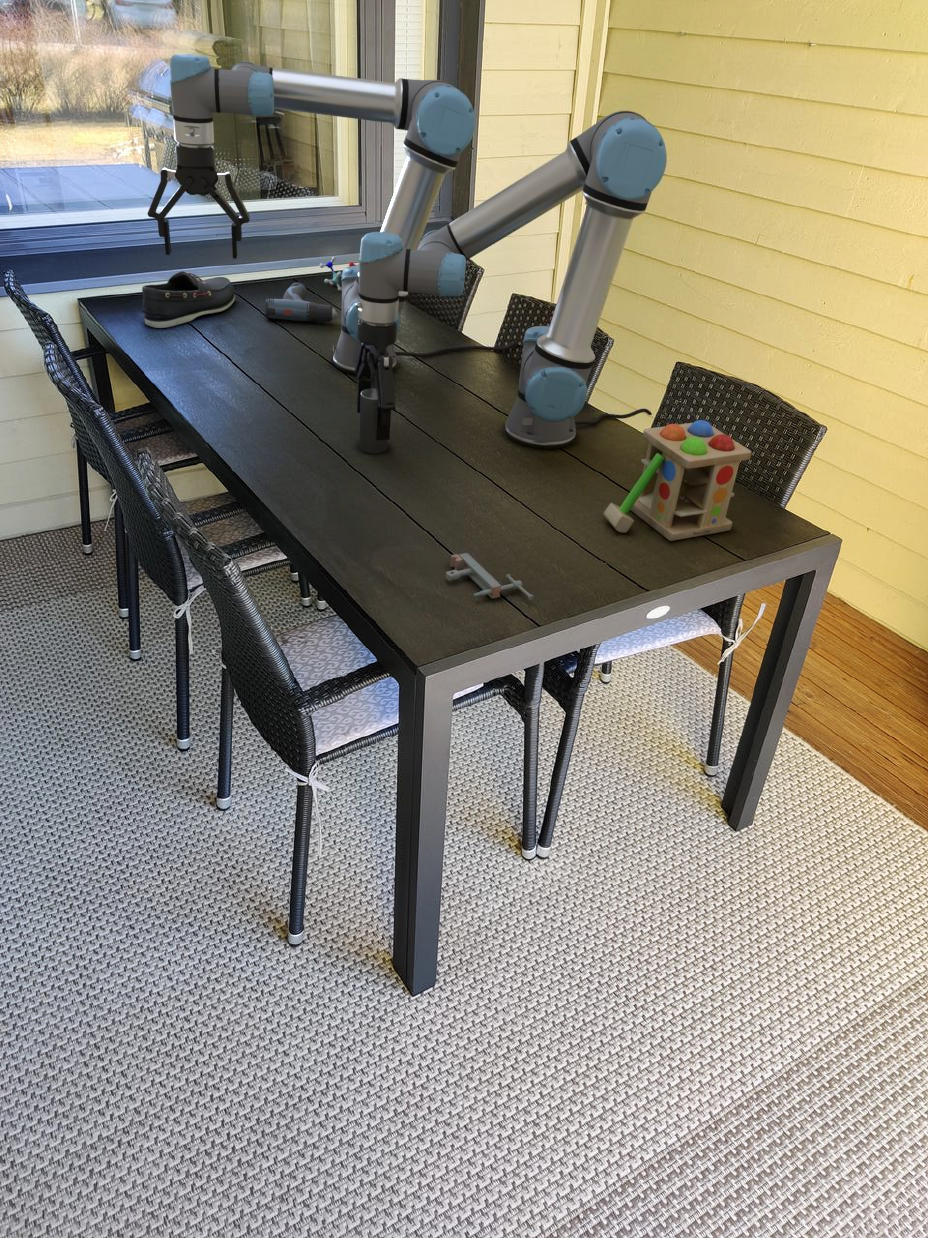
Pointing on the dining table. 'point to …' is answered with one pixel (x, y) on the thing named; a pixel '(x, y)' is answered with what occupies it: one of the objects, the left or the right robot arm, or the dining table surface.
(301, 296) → the power drill
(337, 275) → the molecular model
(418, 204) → the left robot arm
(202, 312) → the boat shoe
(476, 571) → the clamp
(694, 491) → the pounding bench toy
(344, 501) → the dining table surface
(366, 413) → the tin
